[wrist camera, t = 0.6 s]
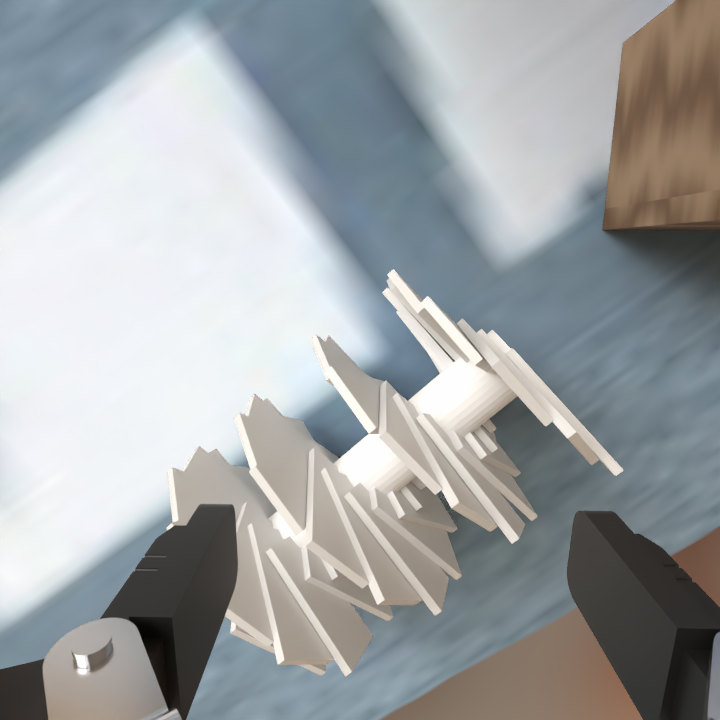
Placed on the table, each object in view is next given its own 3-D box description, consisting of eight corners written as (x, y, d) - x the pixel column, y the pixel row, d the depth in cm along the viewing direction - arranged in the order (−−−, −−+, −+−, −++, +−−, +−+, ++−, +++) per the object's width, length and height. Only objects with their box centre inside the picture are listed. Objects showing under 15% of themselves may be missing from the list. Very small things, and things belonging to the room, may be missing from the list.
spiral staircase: (239, 463, 45) (443, 280, 40) (350, 635, 40) (599, 453, 35) (59, 502, 28) (375, 191, 23) (214, 809, 23) (662, 503, 18)
